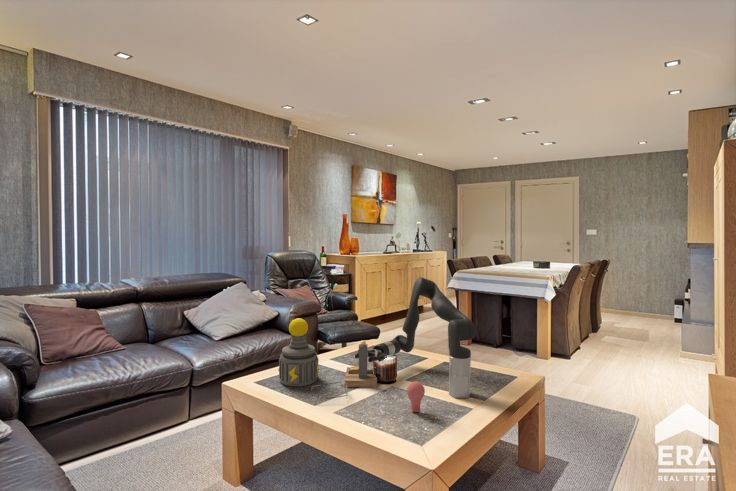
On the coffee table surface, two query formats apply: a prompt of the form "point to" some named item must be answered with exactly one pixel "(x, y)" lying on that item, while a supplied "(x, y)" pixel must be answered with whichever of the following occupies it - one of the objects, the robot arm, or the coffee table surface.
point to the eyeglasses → (332, 397)
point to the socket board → (355, 381)
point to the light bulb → (415, 395)
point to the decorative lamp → (298, 358)
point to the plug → (363, 359)
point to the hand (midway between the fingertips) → (362, 358)
